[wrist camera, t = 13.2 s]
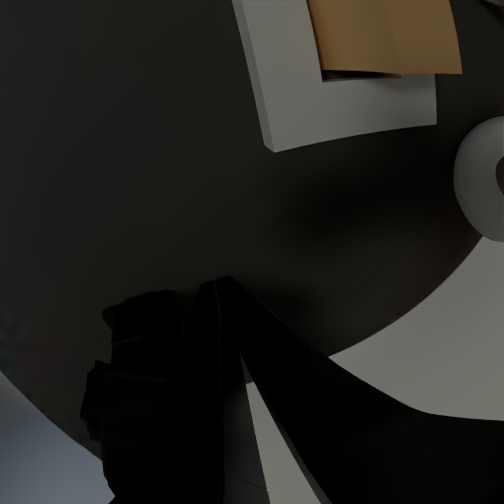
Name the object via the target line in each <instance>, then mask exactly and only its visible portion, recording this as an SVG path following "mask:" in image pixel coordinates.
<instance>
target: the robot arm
mask: <svg viewBox="0 0 504 504" xmlns="http://www.w3.org/2000/svg"><path fill="white" fill-rule="evenodd" d="M163 297H166V298H165V299H164V298H163ZM107 315H109V316H107ZM102 318H103V320H104V321H105V322H106V323H107V325H108V326H109V327H110V329H111V330H112V331H113V333H112V342H111V345H112V346H113V347H112V359H111V364H107V363H103V361H97V360H96V361H95V367H94V369H92V371H91V372H88V374H87V383H86V391H85V395H84V399H83V403H82V407H81V411H80V419H81V421H82V422H83V423H84V424H85V425H86V426H87V430H88V433H90V440H91V443H92V444H97V445H101V450H102V463H103V472H104V476H105V478H106V480H107V481H108V485H109V487H110V489H111V490H112V492H113V493H114V495H115V497H114V499H113V500H112V501H111V502H110V503H109V504H270V500H269V496H268V492H267V490H266V489H267V487H266V483H265V478H264V474H263V469H262V464H261V460H260V455H259V450H258V445H257V440H256V435H255V431H254V426H253V420H252V415H251V410H250V405H249V400H248V395H247V389H246V384H245V379H244V373H243V368H242V362H241V357H240V353H241V356H242V358H243V360H244V362H245V364H246V366H247V369H248V371H249V373H250V375H251V377H252V379H253V381H254V383H255V385H256V386H257V389H258V391H259V393H260V395H261V397H262V399H263V400H264V402H265V404H266V406H267V408H268V410H269V412H270V414H271V416H272V418H273V420H274V422H275V423H276V425H277V427H278V429H279V431H280V433H281V435H282V436H283V438H284V440H285V442H286V444H287V446H288V448H289V449H290V451H291V453H292V455H293V457H294V458H295V460H296V462H297V464H298V465H299V467H300V469H301V471H302V472H303V474H304V476H305V477H306V479H307V481H308V483H309V484H310V486H311V488H312V489H313V491H314V493H315V495H316V496H317V498H318V500H319V501H320V503H321V504H504V421H500V420H483V419H470V418H460V417H451V416H443V415H436V414H430V413H426V412H422V411H419V410H416V409H414V408H411V407H409V406H407V405H405V404H403V403H401V402H400V401H398V400H396V399H394V398H392V397H390V396H389V395H387V394H385V393H383V392H382V391H380V390H378V389H376V388H375V387H373V386H371V385H369V384H368V383H366V382H364V381H363V380H361V379H359V378H358V377H356V376H354V375H353V374H351V373H350V372H348V371H347V370H345V369H344V368H342V367H340V366H339V365H338V364H336V363H335V362H333V361H332V360H331V359H330V358H328V357H327V356H326V355H324V354H323V353H322V352H320V351H319V350H318V349H317V348H316V347H314V346H313V345H312V344H309V342H308V341H307V340H306V339H304V338H303V337H302V336H301V335H300V334H298V333H297V332H296V331H295V330H294V329H293V328H291V327H290V326H289V325H288V324H287V323H285V322H284V321H283V320H282V319H281V318H279V317H278V316H277V315H276V314H275V313H274V312H272V311H271V310H270V309H269V308H268V307H267V306H265V305H264V304H263V303H262V302H261V301H260V300H258V299H257V298H256V297H255V296H254V295H253V294H251V293H250V292H249V291H248V290H247V289H246V288H245V287H243V286H242V285H241V284H240V283H239V282H238V281H237V280H235V279H234V278H233V277H232V276H230V275H228V276H225V277H222V278H218V279H217V280H216V281H214V280H212V281H209V282H206V283H203V284H201V285H200V287H199V290H198V292H197V295H196V298H195V300H194V303H193V306H192V308H191V311H190V314H189V316H188V319H187V322H185V320H184V319H183V317H182V315H181V313H180V311H179V310H178V308H177V306H176V304H175V302H174V301H173V299H172V297H171V295H170V294H169V293H168V292H165V291H164V292H160V293H157V294H154V295H150V296H147V297H144V298H141V299H138V300H134V301H131V302H128V303H125V304H122V305H118V306H115V307H112V308H109V309H105V310H103V312H102ZM239 351H240V353H239Z"/></svg>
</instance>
